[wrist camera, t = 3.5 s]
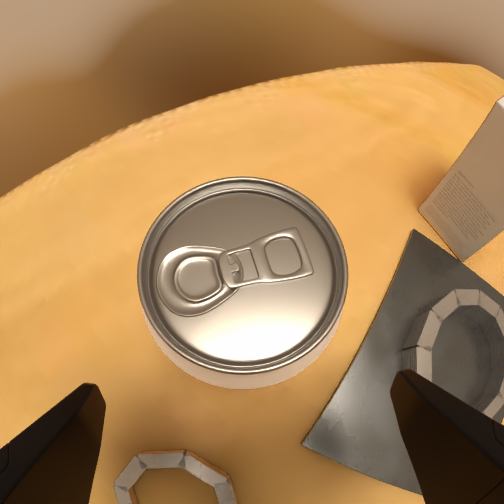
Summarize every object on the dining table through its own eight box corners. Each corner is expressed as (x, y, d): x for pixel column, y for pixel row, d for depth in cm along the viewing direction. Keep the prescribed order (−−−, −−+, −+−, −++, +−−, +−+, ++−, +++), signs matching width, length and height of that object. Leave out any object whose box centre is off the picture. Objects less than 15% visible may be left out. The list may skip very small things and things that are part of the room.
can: (181, 300, 19) (113, 194, 9) (276, 275, 20) (312, 149, 9) (206, 396, 17) (147, 417, 6) (306, 368, 18) (397, 342, 7)
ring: (197, 557, 12) (195, 564, 11) (104, 498, 13) (98, 502, 12) (260, 491, 14) (261, 496, 13) (158, 428, 16) (154, 430, 15)
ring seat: (457, 504, 13) (474, 510, 10) (300, 443, 16) (308, 451, 14) (526, 320, 19) (543, 313, 17) (411, 230, 22) (425, 216, 20)
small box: (451, 175, 25) (516, 84, 13) (490, 221, 23) (568, 142, 11) (414, 209, 23) (496, 98, 11) (460, 265, 21) (565, 178, 9)
